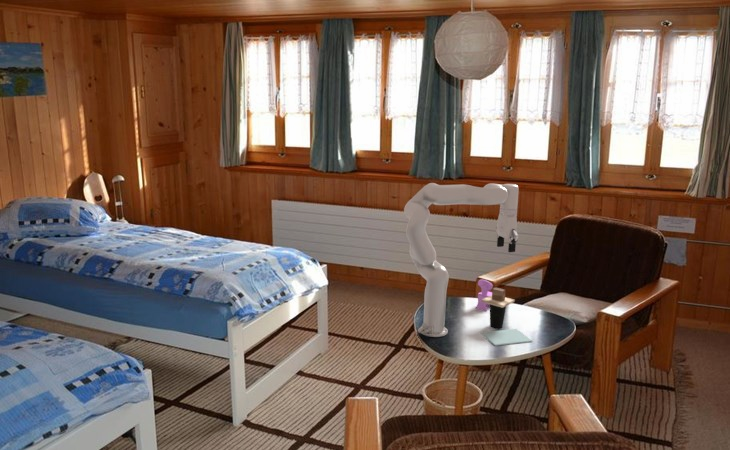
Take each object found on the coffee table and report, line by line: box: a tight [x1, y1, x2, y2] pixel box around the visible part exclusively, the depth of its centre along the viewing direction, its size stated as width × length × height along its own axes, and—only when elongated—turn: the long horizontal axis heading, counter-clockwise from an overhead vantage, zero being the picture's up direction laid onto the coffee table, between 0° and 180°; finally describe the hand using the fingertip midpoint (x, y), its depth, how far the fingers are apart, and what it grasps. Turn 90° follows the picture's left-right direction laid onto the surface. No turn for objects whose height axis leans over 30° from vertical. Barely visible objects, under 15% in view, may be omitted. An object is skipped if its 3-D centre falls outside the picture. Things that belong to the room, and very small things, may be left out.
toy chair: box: [475, 279, 494, 312], centre depth 325 cm, size 8×9×15 cm
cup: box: [489, 304, 507, 330], centre depth 300 cm, size 8×8×12 cm
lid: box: [481, 287, 516, 308], centre depth 298 cm, size 11×11×6 cm
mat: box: [480, 328, 533, 347], centre depth 288 cm, size 18×14×1 cm
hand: (505, 249), depth 293 cm, fingers open, 9 cm apart
